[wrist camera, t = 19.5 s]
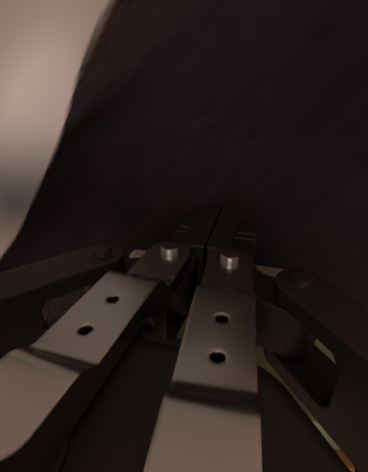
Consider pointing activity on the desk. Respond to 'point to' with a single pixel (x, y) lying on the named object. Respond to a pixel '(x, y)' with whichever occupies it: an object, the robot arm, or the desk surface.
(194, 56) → the desk surface
